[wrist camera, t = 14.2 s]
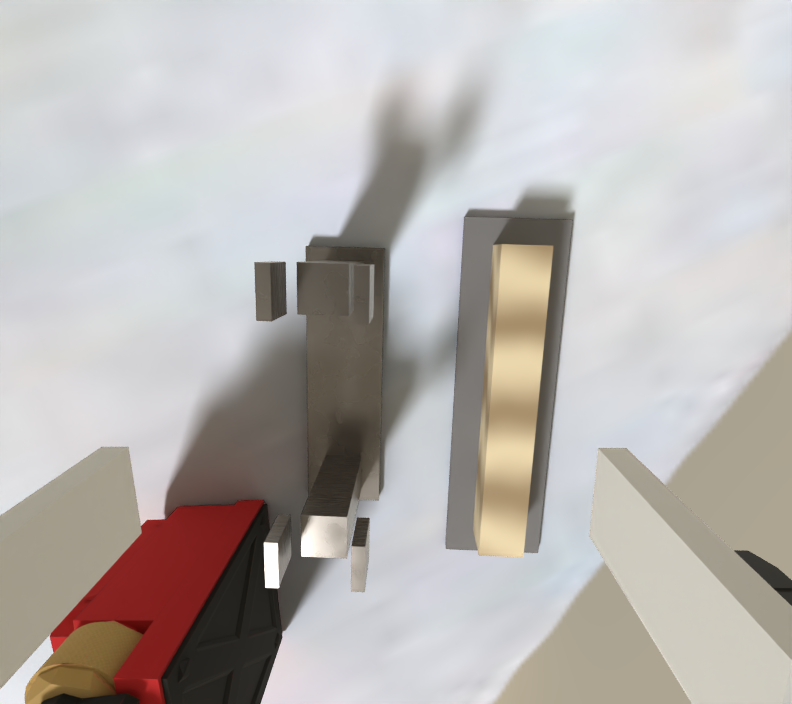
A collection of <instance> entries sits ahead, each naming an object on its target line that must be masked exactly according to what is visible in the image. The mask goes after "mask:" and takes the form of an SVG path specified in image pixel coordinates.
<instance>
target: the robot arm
mask: <svg viewBox="0 0 792 704" xmlns="http://www.w3.org/2000/svg"><path fill="white" fill-rule="evenodd" d="M141 533H142V531H141V524H140V518H139V512H138V505H137V499H136V493H135V486H134V480H133V473H132V467H131V461H130V454H129V448H128V447H101V448H99V449H98V450H96V451H95V452H94V453H92V454H91V455H89V456H88V457H86V458H85V459H83V460H82V461H80V462H79V463H77V464H76V465H74V466H73V467H71V468H70V469H68V470H67V471H65V472H64V473H63V474H61V475H60V476H58V477H57V478H55V479H54V480H52V481H51V482H49V483H48V484H46V485H45V486H43V487H42V488H40V489H39V490H37V491H36V492H35V493H33V494H32V495H30V496H29V497H27V498H26V499H24V500H23V501H21V502H20V503H18V504H17V505H15V506H14V507H12V508H11V509H9V510H8V511H7V512H5V513H4V514H2V515H1V516H0V689H1V688H2V687H3V686H4V685H5V683H6V682H7V681H8V680H9V679H10V678H11V677H12V676H13V675H14V674H15V672H16V671H17V670H18V669H19V668H20V667H21V666H22V665H23V664H24V662H25V661H26V660H27V659H28V658H29V657H30V656H31V655H32V654H33V653H34V651H35V650H36V649H37V648H38V647H39V646H40V645H41V644H42V643H43V641H44V640H45V639H46V638H47V637H48V636H49V635H50V634H51V633H52V632H53V630H54V629H55V628H56V627H57V626H58V625H59V624H60V623H61V622H62V621H63V619H64V618H65V617H66V616H67V615H68V614H69V613H70V612H71V611H72V609H73V608H74V607H75V606H76V605H77V604H78V603H79V602H80V601H81V600H82V598H83V597H84V596H85V595H86V594H87V593H88V592H89V591H90V590H91V588H92V587H93V586H94V585H95V584H96V583H97V582H98V581H99V580H100V579H101V577H102V576H103V575H104V574H105V573H106V572H107V571H108V570H109V569H110V568H111V566H112V565H113V564H114V563H115V562H116V561H117V560H118V559H119V558H120V556H121V555H122V554H123V553H124V552H125V551H126V550H127V549H128V548H129V547H130V545H131V544H132V543H133V542H134V541H135V540H136V539H137V538H138V537H139V535H140V534H141ZM589 537H590V538H591V540H592V542H593V543H594V545H595V546H596V548H597V550H598V551H599V553H600V555H601V556H602V558H603V559H604V561H605V563H606V564H607V566H608V568H609V569H610V571H611V572H612V574H613V576H614V577H615V579H616V581H617V582H618V584H619V585H620V587H621V589H622V591H623V592H624V594H625V595H626V597H627V599H628V600H629V602H630V604H631V605H632V607H633V608H634V610H635V612H636V613H637V615H638V617H639V618H640V620H641V622H642V623H643V625H644V626H645V628H646V630H647V631H648V633H649V635H650V636H651V638H652V640H653V641H654V643H655V644H656V646H657V647H658V649H659V651H660V653H661V654H662V656H663V657H664V659H665V661H666V662H667V664H668V666H669V667H670V669H671V671H672V672H673V674H674V675H675V677H676V679H677V680H678V682H679V684H680V685H681V687H682V689H683V690H684V692H685V693H686V695H687V697H688V698H689V700H690V701H691V703H692V704H792V580H791V579H789V578H788V577H787V576H786V575H785V574H784V573H783V572H782V571H780V570H779V569H778V568H777V567H775V566H773V565H772V564H770V563H768V562H767V561H765V560H763V559H761V558H760V557H758V556H756V555H755V554H753V553H751V552H749V551H734V550H732V549H731V548H730V547H729V546H728V545H727V544H726V543H725V542H724V541H723V540H722V539H721V538H720V537H719V536H718V535H717V534H716V533H715V532H714V531H713V530H712V529H710V528H709V527H708V526H707V525H706V524H705V523H704V522H703V521H702V520H701V519H700V518H699V517H698V516H697V515H696V514H695V513H694V512H693V511H692V510H691V509H689V508H688V507H687V506H686V505H685V504H684V503H683V502H682V501H681V500H680V499H679V498H678V497H677V496H676V495H675V494H674V493H673V492H672V491H670V489H668V487H666V486H665V485H664V484H663V483H662V482H661V481H660V480H659V479H658V478H657V477H656V476H655V475H654V474H653V473H652V472H651V471H650V470H649V469H648V468H647V467H646V466H644V465H643V464H642V463H641V462H640V461H639V460H638V459H637V458H636V457H635V456H634V455H633V454H632V453H631V452H630V451H629V450H628V449H627V448H598V455H597V465H596V475H595V485H594V494H593V504H592V514H591V524H590V534H589Z"/></svg>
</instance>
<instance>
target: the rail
mask: <svg viewBox="0 0 792 704" xmlns="http://www.w3.org/2000/svg"><path fill="white" fill-rule="evenodd" d="M552 256H553V246H548V245H513V244H499V245H493V253H492V267H491V281H490V295H489V310H488V324H487V338H486V352H485V366H484V381H483V395H482V409H481V423H480V437H479V452H478V466H477V480H476V494H475V509H474V523H473V532H474V536H475V541H476V545H477V549H478V554H479V555H480V556H503V557H523V556H524V546H525V536H526V525H527V515H528V505H529V494H530V484H531V474H532V463H533V453H534V443H535V432H536V422H537V412H538V401H539V391H540V381H541V370H542V360H543V349H544V339H545V329H546V318H547V308H548V298H549V287H550V277H551V267H552Z"/></svg>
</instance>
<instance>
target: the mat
mask: <svg viewBox="0 0 792 704" xmlns="http://www.w3.org/2000/svg"><path fill="white" fill-rule="evenodd" d="M572 221H573V220H566V219H530V218H494V217H464V230H463V248H462V265H461V283H460V300H459V318H458V335H457V353H456V370H455V388H454V405H453V423H452V440H451V458H450V475H449V493H448V510H447V528H446V549H457V550H478V549H477V545H476V541H475V536H474V532H473V523H474V509H475V494H476V480H477V466H478V452H479V437H480V423H481V409H482V395H483V381H484V366H485V352H486V338H487V324H488V310H489V295H490V281H491V267H492V253H493V245H499V244H513V245H548V246H553V256H552V267H551V277H550V287H549V298H548V308H547V318H546V329H545V339H544V349H543V360H542V370H541V381H540V391H539V401H538V412H537V422H536V432H535V443H534V453H533V463H532V474H531V484H530V494H529V505H528V515H527V525H526V536H525V546H524V552H526V553H538V549H539V539H540V529H541V520H542V510H543V500H544V491H545V481H546V472H547V462H548V452H549V443H550V433H551V423H552V414H553V404H554V395H555V385H556V375H557V366H558V356H559V346H560V337H561V327H562V318H563V308H564V298H565V289H566V279H567V269H568V260H569V250H570V240H571V231H572Z"/></svg>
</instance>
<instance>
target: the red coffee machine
mask: <svg viewBox="0 0 792 704" xmlns="http://www.w3.org/2000/svg"><path fill="white" fill-rule="evenodd" d="M141 531H142V533H141V534H140V535H139V537H138V538H137V539H136V540H135V541H134V542H133V543H132V544H131V545H130V547H129V548H128V549H127V550H126V551H125V552H124V553H123V554H122V555H121V556H120V558H119V559H118V560H117V561H116V562H115V563H114V564H113V565H112V566H111V568H110V569H109V570H108V571H107V572H106V573H105V574H104V575H103V576H102V577H101V579H100V580H99V581H98V582H97V583H96V584H95V585H94V586H93V587H92V588H91V590H90V591H89V592H88V593H87V594H86V595H85V596H84V597H83V598H82V600H81V601H80V602H79V603H78V604H77V605H76V606H75V607H74V608H73V609H72V611H71V612H70V613H69V614H68V615H67V616H66V617H65V618H64V619H63V621H62V622H61V623H60V624H59V625H58V626H57V627H56V628H55V629H54V630H53V632H52V633H51V635H50V640H51V644H52V648H53V652H54V653H53V654H52V655H51V656H50V658H49V659H48V660H47V661H46V662H45V663H44V664H43V665H42V667H41V668H40V669H39V670H38V671H37V672H36V673H35V675H34V676H33V677H32V678H31V680H30V681H29V683H28V684H27V686H26V691H25V704H260V703H261V700H262V697H263V694H264V691H265V688H266V685H267V682H268V679H269V676H270V673H271V670H272V667H273V664H274V661H275V658H276V655H277V652H278V649H279V646H280V643H281V640H282V630H281V622H280V613H279V605H278V596H277V588H265V559H264V542H265V540H266V538H267V536H268V534H269V532H270V527H269V519H268V510H267V504H264V500H245V501H237V502H236V504H235V505H213V506H185V507H177V508H176V509H175V511H174V512H173V513H172V514H171V515H170V516H169V517H168V518H167V519H163V520H147V521H146V522H145V523H144V524H143V525H142V526H141Z"/></svg>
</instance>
